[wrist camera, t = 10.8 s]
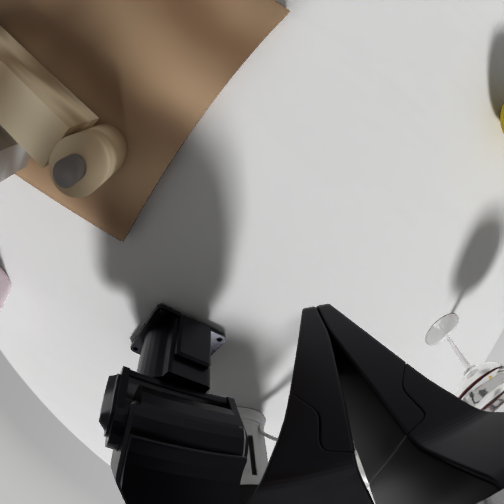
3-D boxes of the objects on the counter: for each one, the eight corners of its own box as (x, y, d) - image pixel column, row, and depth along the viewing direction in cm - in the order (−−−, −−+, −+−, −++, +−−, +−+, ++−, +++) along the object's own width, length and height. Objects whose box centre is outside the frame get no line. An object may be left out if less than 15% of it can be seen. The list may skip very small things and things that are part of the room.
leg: (138, 147, 16) (116, 163, 12) (106, 185, 17) (80, 210, 13) (-6, 14, 9) (-41, 9, 5) (-29, 51, 10) (-64, 53, 6)
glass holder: (182, 419, 33) (180, 529, 20) (283, 381, 30) (310, 513, 17) (223, 441, 37) (230, 535, 24) (315, 409, 34) (342, 514, 21)
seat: (126, 235, 20) (97, 290, 15) (-49, 119, 13) (-100, 139, 7) (286, 14, 14) (317, -18, 8) (60, -78, 6) (22, -107, 1)
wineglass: (459, 336, 31) (504, 405, 20) (416, 357, 31) (457, 435, 21) (468, 298, 27) (526, 373, 17) (421, 322, 28) (475, 409, 18)
